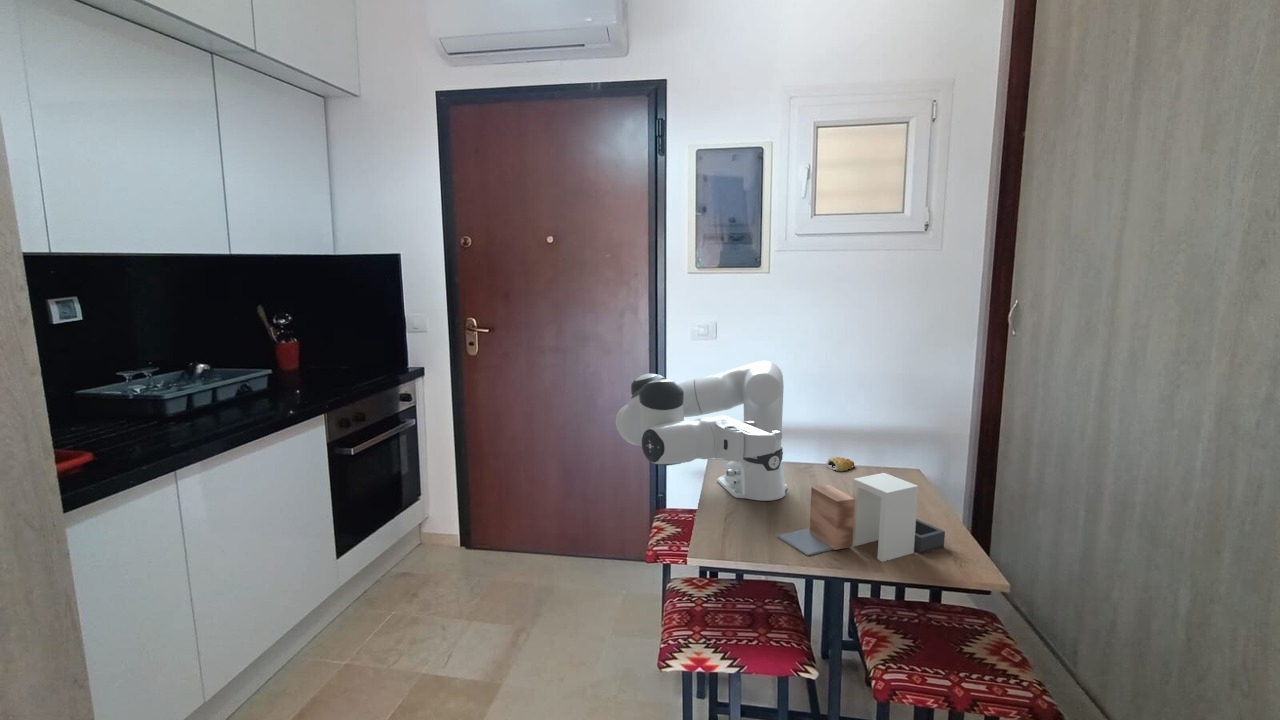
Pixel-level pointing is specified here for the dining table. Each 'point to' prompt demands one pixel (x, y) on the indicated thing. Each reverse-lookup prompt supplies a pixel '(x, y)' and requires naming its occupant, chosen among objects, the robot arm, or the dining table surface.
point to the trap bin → (927, 537)
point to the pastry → (840, 463)
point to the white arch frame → (885, 514)
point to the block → (832, 516)
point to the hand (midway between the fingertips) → (766, 429)
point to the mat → (805, 542)
